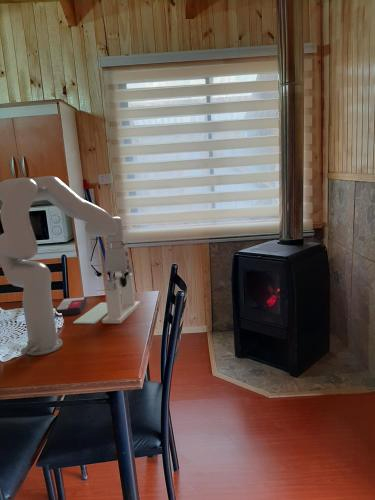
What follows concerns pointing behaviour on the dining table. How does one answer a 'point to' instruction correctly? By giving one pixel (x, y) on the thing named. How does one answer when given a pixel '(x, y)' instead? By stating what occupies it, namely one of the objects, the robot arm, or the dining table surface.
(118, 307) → the rack
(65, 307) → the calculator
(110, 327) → the dining table surface
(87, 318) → the mat
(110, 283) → the rail
